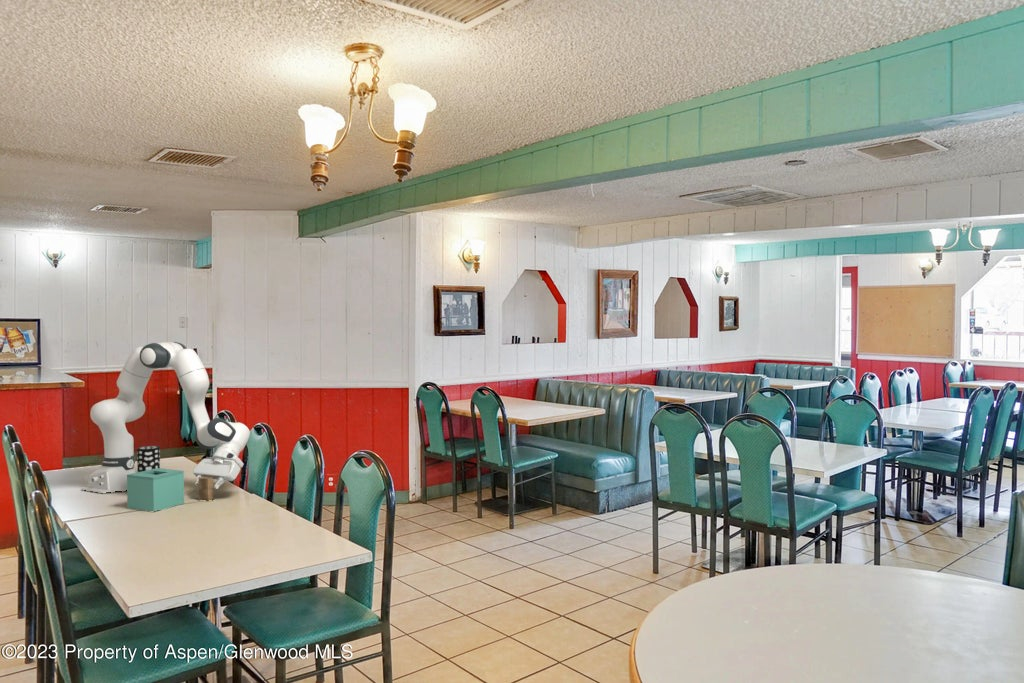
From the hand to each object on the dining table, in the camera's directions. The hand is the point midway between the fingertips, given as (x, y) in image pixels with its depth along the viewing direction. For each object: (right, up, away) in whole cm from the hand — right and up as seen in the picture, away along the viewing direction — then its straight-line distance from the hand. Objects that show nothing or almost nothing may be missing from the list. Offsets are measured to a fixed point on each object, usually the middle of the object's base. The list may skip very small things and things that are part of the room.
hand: (205, 487), depth 293 cm
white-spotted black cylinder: (-26, -5, +7) cm, 28 cm away
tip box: (-15, -6, -9) cm, 19 cm away
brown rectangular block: (0, -5, 0) cm, 5 cm away
